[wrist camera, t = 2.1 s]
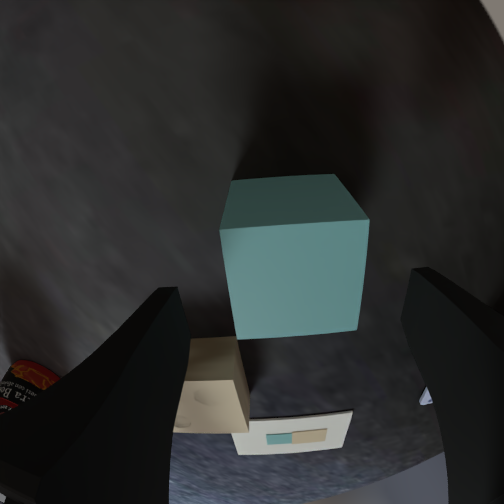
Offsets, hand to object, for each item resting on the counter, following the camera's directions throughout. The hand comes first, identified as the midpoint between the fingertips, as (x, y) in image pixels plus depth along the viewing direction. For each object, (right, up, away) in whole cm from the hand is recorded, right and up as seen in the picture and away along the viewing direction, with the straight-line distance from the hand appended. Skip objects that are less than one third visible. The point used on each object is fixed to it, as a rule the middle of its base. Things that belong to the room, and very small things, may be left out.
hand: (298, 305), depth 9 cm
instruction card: (+2, -14, +15) cm, 21 cm away
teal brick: (0, +3, +5) cm, 6 cm away
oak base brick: (-5, -6, +11) cm, 13 cm away
